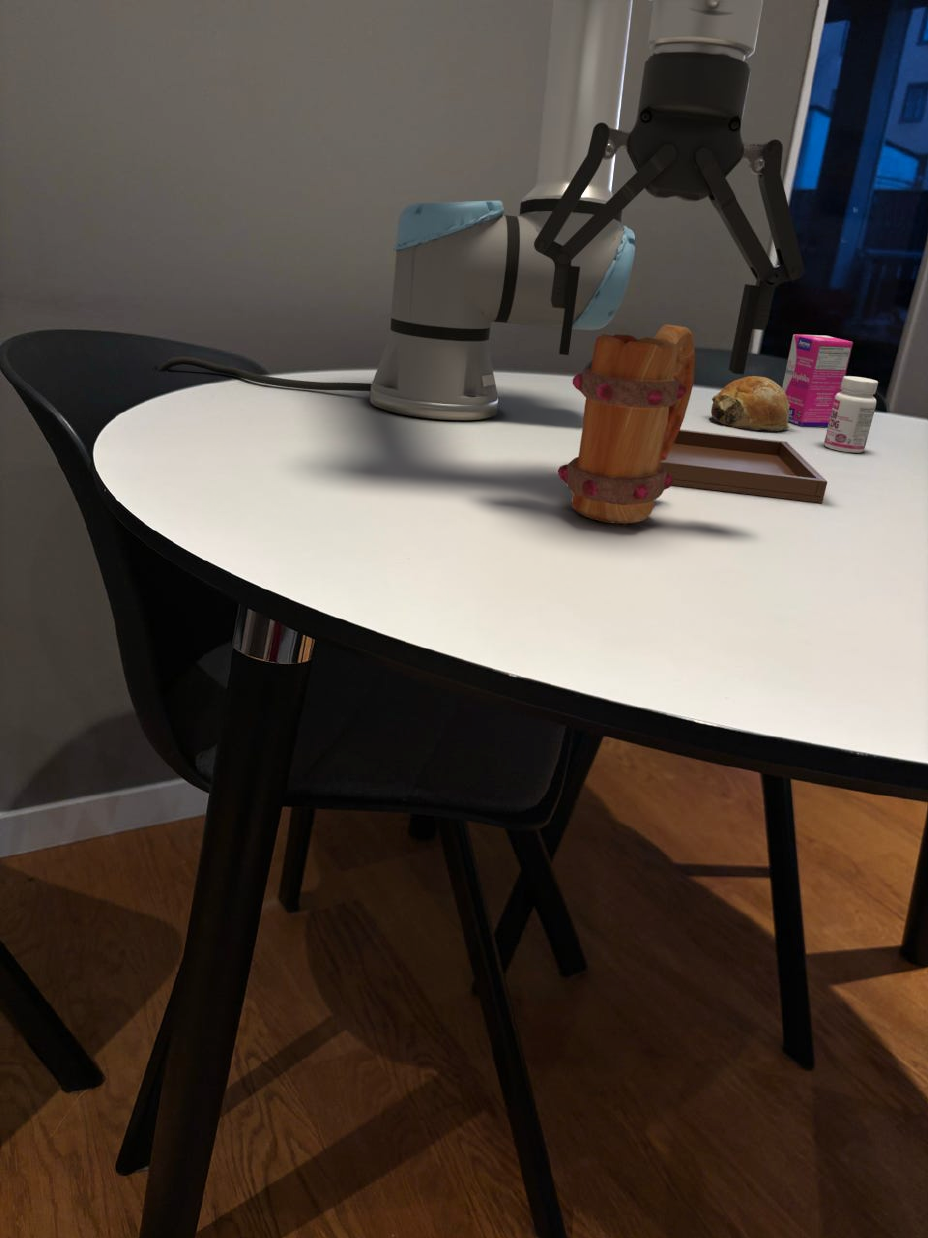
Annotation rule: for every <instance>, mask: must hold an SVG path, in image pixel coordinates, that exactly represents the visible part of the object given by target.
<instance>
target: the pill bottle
mask: <svg viewBox="0 0 928 1238" xmlns="http://www.w3.org/2000/svg"><path fill="white" fill-rule="evenodd" d="M878 385H879V382H878V380H875V379H872V378H867V377H862V376H852V375H845V376H844V377H843V380H842V383H841V389H842V391H841V392H839V393H837V394H836V396H835V399H834V403H833V408H832V412H831V416H830V420H829V424H828V427H827V429H826V433H825V437H824V442H823V445H824V446H825V447H826V448H827V449H831V450H833V451H838V452H843V453H851V454H852V453H854V454H860V453H863V452H864V451H865V450H866V449H865V448H866V446H867V441H868V438H869V434H870V429H871V426H872V422H873V418H874V415H875V410H876V407H877V399H876V398H875V397H874V395H875V394H876V392H877V388H878Z"/></svg>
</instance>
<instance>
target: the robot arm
mask: <svg viewBox="0 0 928 1238" xmlns="http://www.w3.org/2000/svg"><path fill="white" fill-rule="evenodd" d="M647 1H648V2H652V3H653V4H652V10H651V18H650V25H649V31H648V38H647V46H648V47H649V49H650V50H651V51H652V52H653V53H652V54H653V55H650V56H649V57H648V59H647V60H645V62H644V67H643V73H642V80H641V86H640V87H641V88H640V94H639V101H638V107H637V114H636V120H635V124H634V125H633V127H632V130H630V132H629V131H626V130H622V129H619V124H620V115H621V106H622V98H623V90H624V80H625V71H626V63H627V54H628V47H629V46H628V45H629V37H630V29H631V28H630V27H631V20H632V10H633V3H634V2H633V0H552V12H551V21H550V22H551V23H550V33H549V43H548V52H547V62H546V63H547V64H546V74H545V85H544V95H543V103H542V104H543V106H542V118H541V124H540V136H539V149H538V156H537V157H538V158H537V168H536V179H535V183H534V187H533V188H532V189H531V190H530V191H529V192H528V193H527V194H526V195H525V196H524V197H523V198H522V199H521V200H520V207H519V215H507V214H505V208H504V204H503V202H502V200H475V201H473V200H471V201H469V200H468V201H446V202H445V201H443V202H417V203H410V204H409V205H406V206H405V207H404V208H403V209H402V210H401V212H400V214H399V217H398V222H397V223H398V224H397V231H396V241H395V244H394V245H393V250H394V251H396V252H395V263H394V276H393V288H392V289H393V290H392V300H391V302H392V303H391V313H390V314H391V315H390V316H391V317H390V327H389V336H388V337H389V338H388V340H387V344H386V346H385V349H384V351H383V354H382V356H381V359H380V361H379V364H378V366H377V369H376V372H375V374H374V378H373V380H372V383H370V382H369V383H368V382H341V381H340V382H336V381H335V382H331V381H330V382H329V381H327V382H324V381H323V382H322V381H308V380H299V379H289V378H281V377H274V376H268V375H263V374H257V373H253V372H250V371H247V370H244V369H241V368H238V367H233V366H228V365H222V364H217V363H214V362H210V361H208V360H204V359H200V358H196V357H192V356H175V357H172V358H169V359H167V360H168V361H167V360H166V361H167V363H166V362H165V361H164V362H162V363H161V364H160V365H159V366H158V367H157V369H156V371H160V372H166V371H167V370H170V369H171V368H172V367H176V366H181V365H186V366H193V367H198V368H201V369H203V370H204V369H205V370H207V371H208V370H209V371H211V372H214V373H220V374H223V375H231V376H234V377H238V378H241V379H243V380H246V381H250V382H255V383H257V384H258V383H259V384H264V385H269V386H276V387H283V388H291V389H301V390H314V391H346V392H347V391H350V392H352V391H353V392H370V395H369V397H370V398H369V402H370V404H372V405H373V406H374V407H376V408H378V409H381V410H383V411H387V412H390V413H395V414H399V415H404V416H409V417H416V418H424V419H433V420H445V421H447V420H448V421H475V420H484V419H485V420H486V419H489V418H492V417H494V416H496V415H497V414H498V405H499V397H498V390H497V385H496V379H495V374H494V370H493V369H494V368H493V364H492V359H491V354H490V348H489V347H490V345H489V344H490V333H491V326H492V323H503V324H511V325H512V324H513V325H521V326H533V327H543V328H553V329H561V334H560V343H559V350H558V355H562V356H563V355H564V356H569V355H570V348H571V340H572V331H573V330H580V331H581V330H582V331H585V330H586V331H596V330H602V329H603V328H605V327H606V326H608V325H609V324H610V322H611V321H612V320H613V319H614V317H615V316H616V314H617V312H618V310H619V308H620V306H621V304H622V302H623V299H624V297H625V295H626V291H627V288H628V284H629V281H630V279H631V273H632V271H633V265H634V260H635V255H636V253H635V252H636V248H635V244H636V243H635V242H636V236H635V233H634V231H633V230H632V228H629V227H628V226H627V225H622V218H623V217H622V215H623V210H624V209H625V208H626V207H627V206H628V205H629V204H630V203H631V202H632V201H634V199H635V198H636V197H638V196H639V194H640V193H642V191H644V189H645V191H646V192H647V193H648V194H649V195H651V197H652V196H653V197H654V198H656V199H669V198H674V197H675V198H678V199H681V200H683V201H687V202H699V201H702V200H703V199H706V198H708V199H709V201H710V203H711V205H712V206H713V208H714V209H715V211H716V212H717V213H718V215H719V217H720V219H721V220H722V222H723V224H724V226H725V228H726V229H727V231H728V233H729V235H730V237H731V238H732V240H733V241H734V243H735V245H736V247H737V249H738V251H739V253H740V254H741V256H742V258H743V259H744V261H745V263H746V264H747V266H748V268H749V269H750V271H751V273H752V275H753V277H754V279H755V280H756V281H755V284H749V283H748V284H747V283H744V287H743V293H742V296H741V297H742V298H741V303H740V308H739V314H738V318H737V323H736V329H735V333H734V338H733V344H732V350H731V354H730V360H729V365H728V370H729V371H730V372H731V373H732V374H735V375H742V376H744V374H745V369H746V366H747V365H746V364H747V360H748V355H749V349H750V345H751V339H752V334H753V330H757V331H764V330H765V329H766V327H768V323H769V320H770V319H769V318H770V313H771V309H772V305H773V300H774V294H775V290H776V288H777V287H778V286H779V285H780V284H782V283H786V282H790V281H795V280H799V279H801V278H802V277H803V276H804V275H805V274H804V273H805V266H804V261H803V258H802V254H801V253H802V252H801V250H800V246H799V241H798V237H797V234H796V230H795V226H794V223H793V218H792V215H791V210H790V206H789V203H788V197H787V194H786V190H785V185H784V182H783V178H782V174H781V173H782V161H783V151H784V148H783V143H782V141H780V140H779V139H775V138H774V139H771V140H768V141H767V142H748V143H747V142H745V143H744V141H743V138H742V137H743V136H742V124H743V119H744V112H745V107H746V103H747V96H748V92H749V86H750V80H751V74H752V69H751V68H750V65H749V63H748V62H747V61H745V60H746V59H748V58H750V57H751V56H753V54H754V53H755V51H756V44H757V39H758V35H759V34H758V33H759V27H760V23H761V16H762V10H763V6H764V5H763V4H764V0H647ZM623 148H624V149H626V152H627V154H628V157H629V158H630V161H631V163H632V165H633V167H634V169H635V171H636V173H634V174H633V175H632V176H631V178H629V179H628V180H627V181H626V182H625V183H624V184H623V185H622V186H621V187H620V188H619V189H618V190H617V191H616V192H615V193H614V194H613V192H612V187H613V186H612V185H613V178H614V169H615V160H616V153H617V152H618V151H619V150H620V149H623ZM742 160H743V161H745V162H746V163H747V165H748V169H749V172H750V173H751V174H752V175H756V176H757V182H758V187H759V192H760V195H761V200H762V203H763V207H764V211H765V215H766V219H767V222H768V227H769V231H770V234H771V238H772V242H773V246H774V249H775V253H776V257H777V258H776V259H777V262H778V265H774V264H773V262H772V261H771V259H770V257H769V256H768V253H767V252H766V250H765V248H764V246H763V245H762V243H761V241H760V239H759V237H758V235H757V234H756V232H755V230H754V229H753V226H752V225H751V223H750V221H749V220H748V218H747V216H746V214H745V212H744V210H743V209H742V207H741V205H740V203H739V202H738V200H737V197H736V194H735V192H734V190H733V189H732V187H731V185H730V183H729V182H728V180H727V177H728V175H729V174H730V173H731V172H732V171H733V170H734V169H735V168H736V167H737V166H738V165H739V164H740V162H741V161H742Z"/></svg>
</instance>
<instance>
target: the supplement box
mask: <svg viewBox="0 0 928 1238" xmlns="http://www.w3.org/2000/svg"><path fill="white" fill-rule="evenodd" d="M853 344H854V342H853V341H850V340H847V339H842V338H839V337H838V338H837V337H835V336H834V337H833V336H830V335H818V334H798V333H797V334H793V335H792V339H791V344H790V349H789V353H788V358H787V362H786V368H785V373H784V377H783V382H782V386H781V388H782V389H783V391H784V392H785V394H786V397H787V400H788V402H789V404H790V406H789V418H788V422H789V423H792V424H796V425H797V426H800V427H816V428H817V427H818V428H819V427H820V428H828V424H829V420H830V416H831V412H832V408H833V403H834V399H835V396H836V394H837V393H839V392H841V391H842V389H841V383H842V380H843V377H844V376H847V375H846V374H847V369H848V366H849V361H850V357H851V353H852V348H853Z"/></svg>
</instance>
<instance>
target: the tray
mask: <svg viewBox="0 0 928 1238" xmlns="http://www.w3.org/2000/svg"><path fill="white" fill-rule="evenodd" d="M660 464H661V465H662V466H663V467H664V468H665V470H666V473H669V474H671V476H672V477H673V478H674V479H673V485H672V486H677V487H684V488H685V487H686V488H693V489H702V490H708V491H709V490H710V491H717V492H718V491H719V492H727V493H734V494H735V493H736V494H743V495H751V496H758V497H759V496H761V497H767V498H776V499H783V500H793V501H799V502H800V501H801V502H808V503H819V504H823V502H824V497H825V494H826V491H827V486H828V481H827V479H826V478H824V476H823V475H821V474H820V472H818V471H817V470H816V469H815V468H814V467H813V466H812V465H811V464H810V463H809V462H808V461H807V460H806V459H805V458H804V457H803V456H802V455H801V454H800V453H799V452H798V451H797V450H796V449H795V448H794V447H792V445H791V444H789V442H787V441H782V440H775V439H765V438H759V437H750V436H749V437H748V436H742V435H741V436H740V435H731V434H722V433H715V432H705V431H697V430H690V429H689V430H688V429H681V428H680V430H679V432H678V434H677V437H676V439H675V441H674V443H673V445H672V447H671V449H670V451H669V453H668V456H667V458H666V459H665V460H663V461H660Z"/></svg>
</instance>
